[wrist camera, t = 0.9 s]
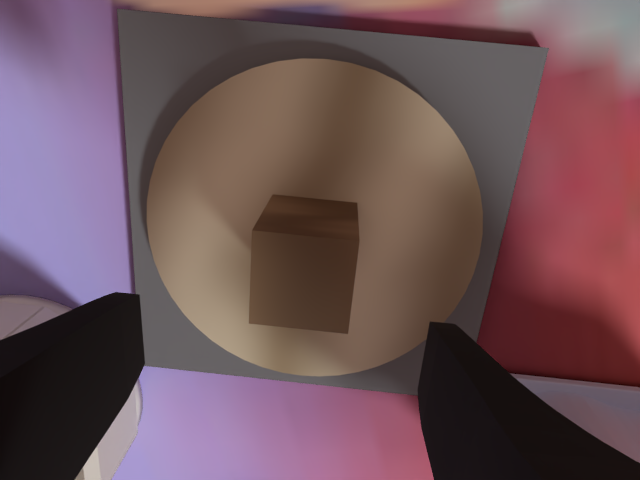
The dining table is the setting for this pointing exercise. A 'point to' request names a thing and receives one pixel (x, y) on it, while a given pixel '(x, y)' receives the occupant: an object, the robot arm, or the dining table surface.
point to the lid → (314, 217)
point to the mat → (335, 44)
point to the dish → (27, 311)
